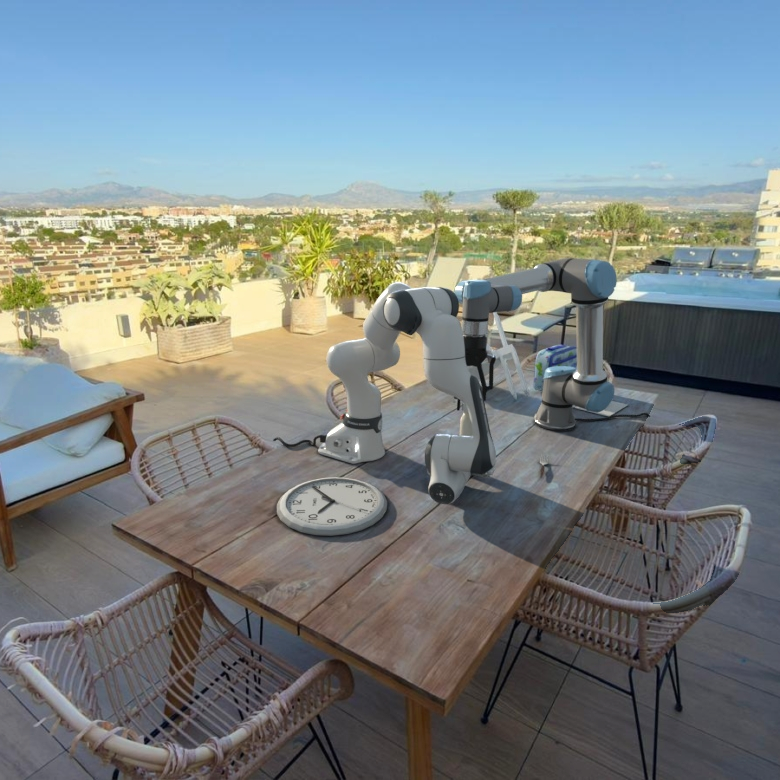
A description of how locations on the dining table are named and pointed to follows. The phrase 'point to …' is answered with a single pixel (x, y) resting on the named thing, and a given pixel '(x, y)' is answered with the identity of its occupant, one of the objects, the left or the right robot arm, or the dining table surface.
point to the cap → (464, 408)
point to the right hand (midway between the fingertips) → (469, 409)
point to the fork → (543, 464)
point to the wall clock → (331, 506)
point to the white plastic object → (502, 361)
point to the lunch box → (553, 361)
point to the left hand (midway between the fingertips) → (466, 451)
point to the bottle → (465, 425)
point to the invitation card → (608, 408)
